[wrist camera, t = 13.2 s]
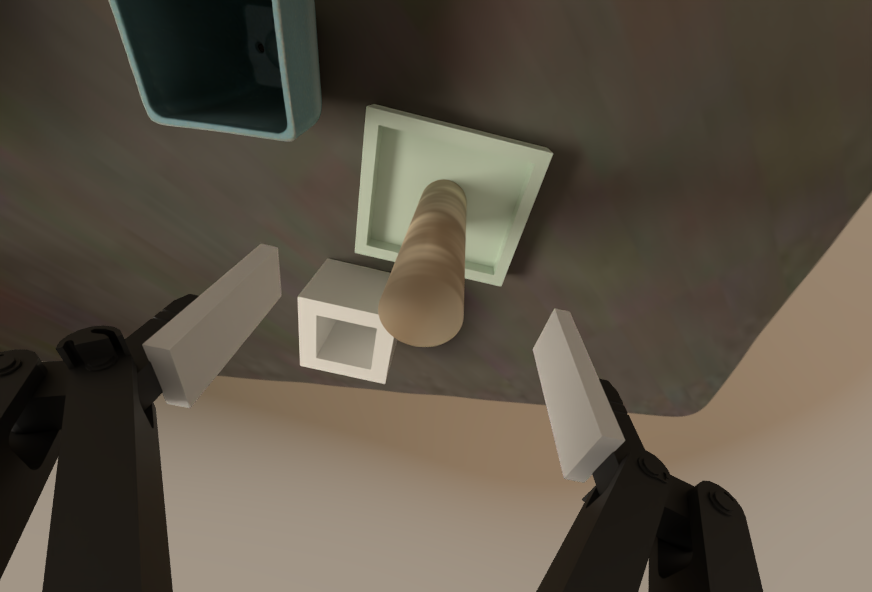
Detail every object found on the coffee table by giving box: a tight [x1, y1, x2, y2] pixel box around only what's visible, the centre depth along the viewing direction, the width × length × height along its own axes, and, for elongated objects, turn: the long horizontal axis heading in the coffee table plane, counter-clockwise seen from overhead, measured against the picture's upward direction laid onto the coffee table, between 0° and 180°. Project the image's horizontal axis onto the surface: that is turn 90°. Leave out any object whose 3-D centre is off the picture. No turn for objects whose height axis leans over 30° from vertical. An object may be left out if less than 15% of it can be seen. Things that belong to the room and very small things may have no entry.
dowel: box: [378, 179, 467, 347], centre depth 22 cm, size 4×4×16 cm
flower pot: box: [108, 0, 322, 142], centre depth 20 cm, size 9×9×9 cm
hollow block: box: [298, 258, 397, 384], centre depth 33 cm, size 9×9×7 cm
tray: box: [355, 104, 553, 286], centre depth 28 cm, size 14×12×2 cm
